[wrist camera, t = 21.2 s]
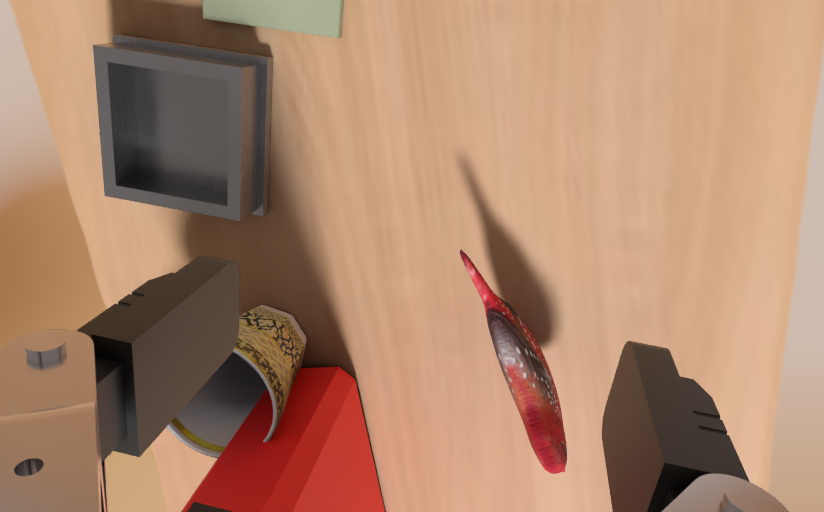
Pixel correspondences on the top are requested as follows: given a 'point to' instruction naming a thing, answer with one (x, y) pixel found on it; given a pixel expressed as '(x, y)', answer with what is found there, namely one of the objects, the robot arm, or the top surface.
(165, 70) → the socket block
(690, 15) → the top surface
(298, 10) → the rubber mat
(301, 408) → the book
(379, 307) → the top surface
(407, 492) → the top surface
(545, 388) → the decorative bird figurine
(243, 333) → the ceramic cup
